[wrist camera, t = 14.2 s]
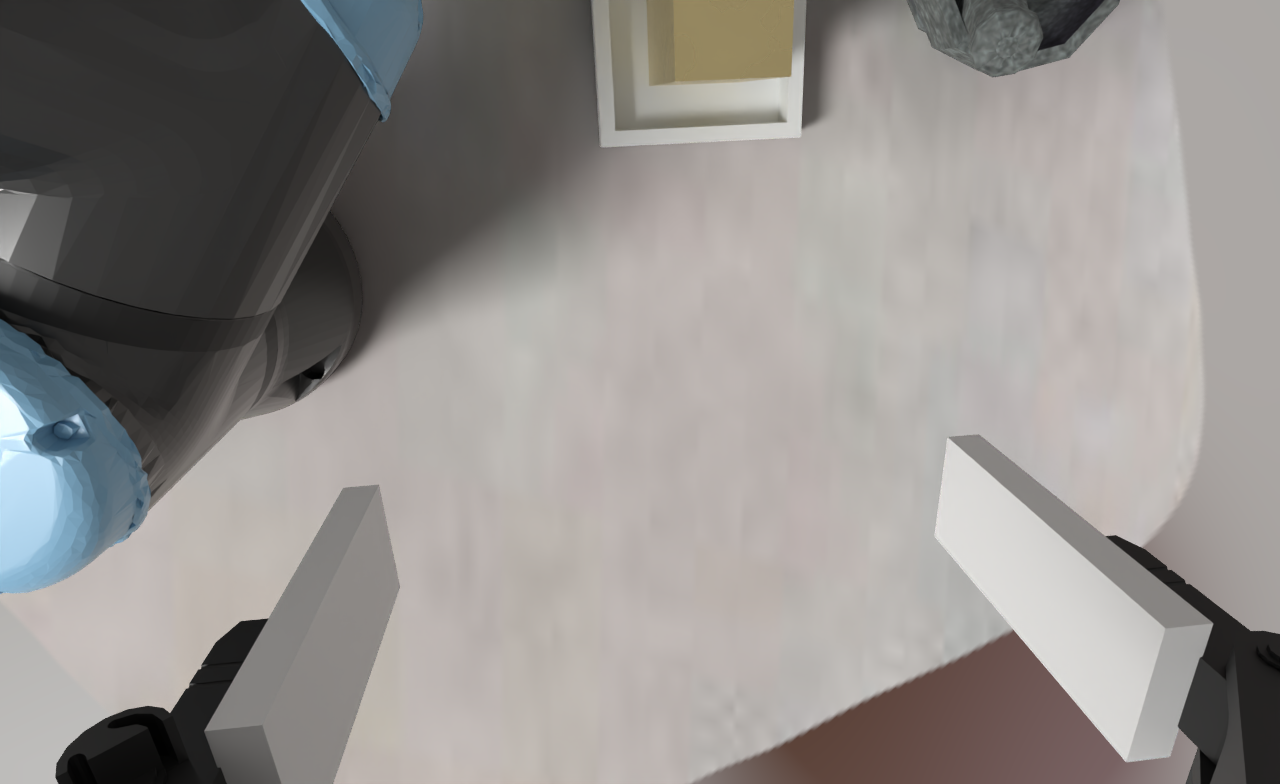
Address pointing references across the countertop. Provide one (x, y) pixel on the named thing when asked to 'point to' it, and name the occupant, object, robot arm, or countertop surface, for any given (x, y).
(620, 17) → the white tray
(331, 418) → the countertop surface
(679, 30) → the brass block
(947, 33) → the mortar and pestle
